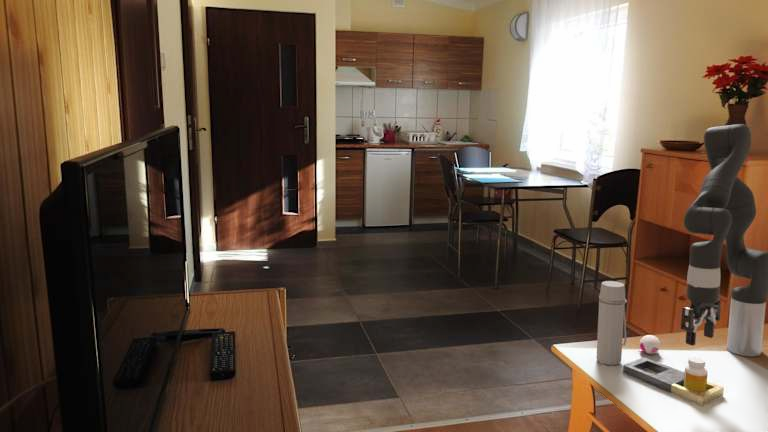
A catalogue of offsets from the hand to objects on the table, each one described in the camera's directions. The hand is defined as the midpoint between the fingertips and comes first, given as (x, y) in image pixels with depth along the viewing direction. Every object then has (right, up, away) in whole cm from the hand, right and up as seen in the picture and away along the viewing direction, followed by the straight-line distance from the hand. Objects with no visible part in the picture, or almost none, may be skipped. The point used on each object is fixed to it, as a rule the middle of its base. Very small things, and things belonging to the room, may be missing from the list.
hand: (699, 340), depth 150 cm
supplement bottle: (0, -15, +3) cm, 16 cm away
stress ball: (0, -11, +30) cm, 32 cm away
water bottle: (-14, -12, +24) cm, 30 cm away
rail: (-4, -14, +9) cm, 17 cm away
